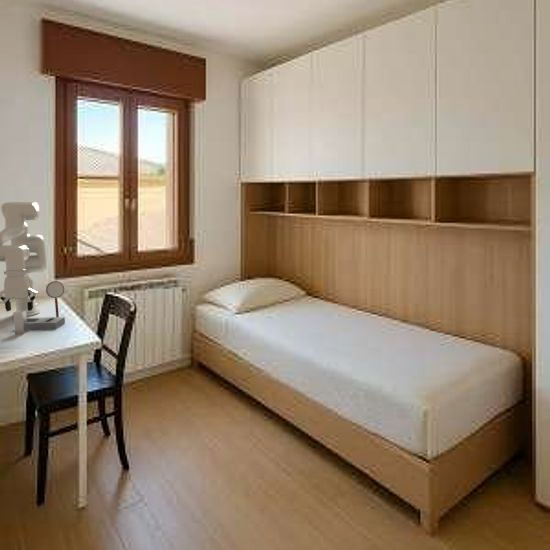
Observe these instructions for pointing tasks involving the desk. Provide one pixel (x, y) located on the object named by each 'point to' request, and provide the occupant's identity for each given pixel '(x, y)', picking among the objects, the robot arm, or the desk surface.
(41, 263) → the robot arm
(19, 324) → the square peg
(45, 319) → the bore block
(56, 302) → the magnifying glass
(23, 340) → the desk surface
